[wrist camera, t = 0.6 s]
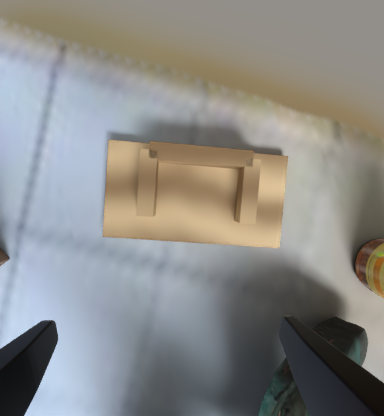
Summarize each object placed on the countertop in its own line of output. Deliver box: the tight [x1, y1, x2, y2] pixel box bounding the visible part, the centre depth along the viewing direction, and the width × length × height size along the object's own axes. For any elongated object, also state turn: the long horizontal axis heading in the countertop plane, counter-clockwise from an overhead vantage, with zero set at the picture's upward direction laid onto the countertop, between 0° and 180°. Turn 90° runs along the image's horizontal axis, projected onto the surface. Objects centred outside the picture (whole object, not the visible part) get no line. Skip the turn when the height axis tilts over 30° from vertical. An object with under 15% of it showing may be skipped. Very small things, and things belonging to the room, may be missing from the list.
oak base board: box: [103, 140, 288, 248], centre depth 21 cm, size 10×18×3 cm, turn 86°
